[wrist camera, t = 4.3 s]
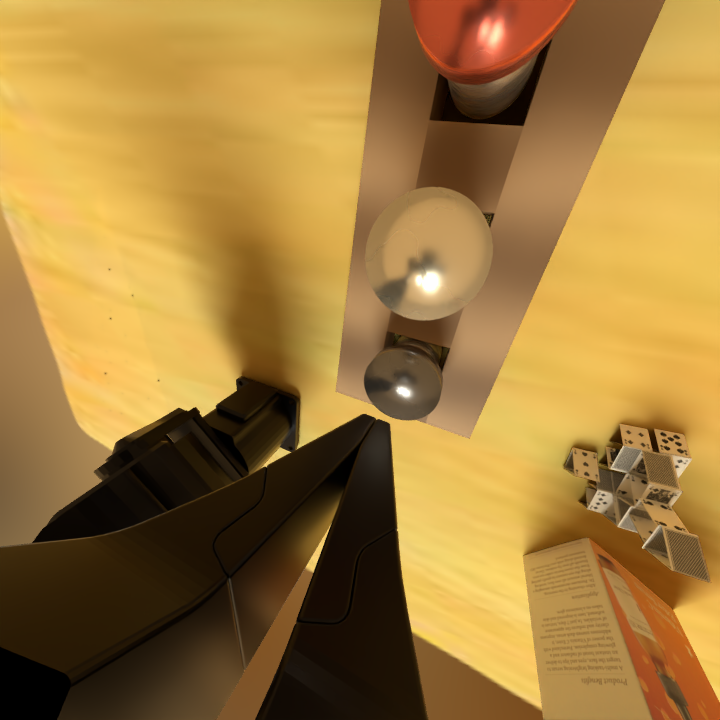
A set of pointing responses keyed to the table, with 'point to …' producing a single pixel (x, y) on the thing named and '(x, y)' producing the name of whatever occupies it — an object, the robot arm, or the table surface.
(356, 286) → the socket board
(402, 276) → the cream plug
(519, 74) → the red plug
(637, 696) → the small box
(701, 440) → the table surface
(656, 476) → the house of cards
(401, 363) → the grey plug
